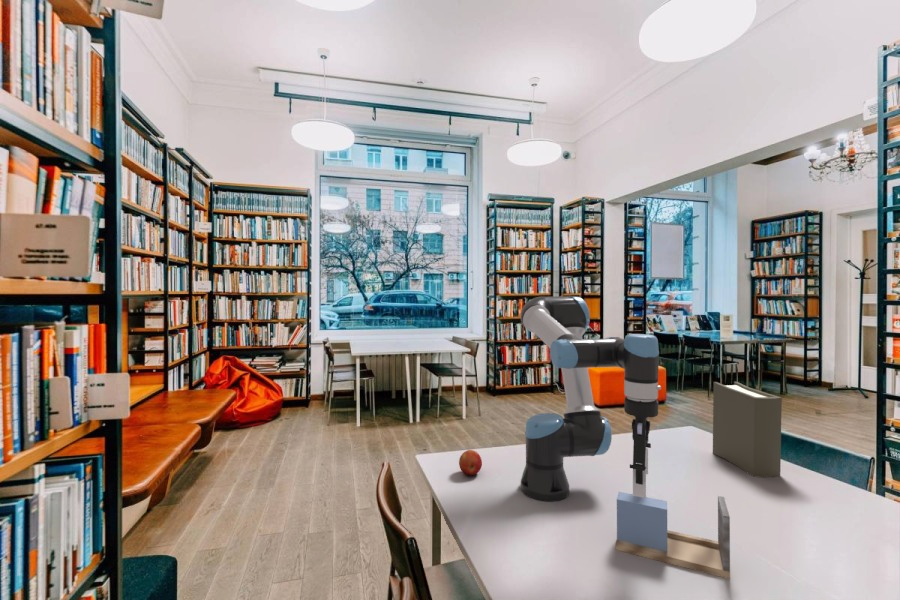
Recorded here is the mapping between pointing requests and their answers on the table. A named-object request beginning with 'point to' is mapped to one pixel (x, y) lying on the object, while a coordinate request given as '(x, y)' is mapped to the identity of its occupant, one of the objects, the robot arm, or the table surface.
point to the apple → (470, 462)
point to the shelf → (693, 548)
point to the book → (747, 428)
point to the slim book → (642, 521)
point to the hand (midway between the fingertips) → (640, 484)
